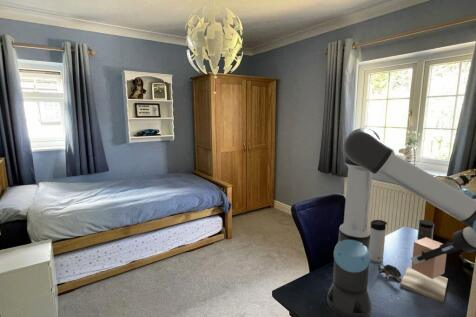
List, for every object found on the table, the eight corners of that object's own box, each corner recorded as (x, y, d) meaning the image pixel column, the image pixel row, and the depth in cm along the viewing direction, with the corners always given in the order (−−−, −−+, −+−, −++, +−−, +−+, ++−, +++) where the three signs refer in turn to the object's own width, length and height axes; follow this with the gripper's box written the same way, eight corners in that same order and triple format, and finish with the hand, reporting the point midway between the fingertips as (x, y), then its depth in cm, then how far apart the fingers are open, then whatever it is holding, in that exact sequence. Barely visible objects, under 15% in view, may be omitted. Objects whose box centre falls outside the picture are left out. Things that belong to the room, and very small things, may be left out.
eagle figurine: (376, 278, 111) (401, 282, 106) (376, 260, 114) (400, 263, 108) (379, 279, 116) (403, 282, 111) (379, 262, 119) (402, 265, 114)
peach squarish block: (444, 273, 105) (447, 245, 103) (432, 279, 102) (435, 250, 99) (423, 263, 112) (425, 237, 110) (411, 268, 109) (414, 241, 107)
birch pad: (443, 302, 98) (443, 299, 98) (400, 286, 107) (400, 283, 107) (447, 281, 109) (447, 278, 109) (408, 268, 119) (408, 265, 119)
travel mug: (382, 265, 122) (385, 225, 118) (366, 260, 126) (369, 221, 122) (384, 259, 127) (388, 220, 123) (369, 255, 130) (372, 217, 127)
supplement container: (430, 238, 145) (432, 221, 143) (433, 244, 139) (435, 225, 137) (416, 236, 148) (418, 219, 146) (418, 241, 142) (420, 223, 140)
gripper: (463, 257, 86) (409, 274, 103) (495, 241, 94) (440, 260, 112) (447, 235, 90) (397, 255, 107) (478, 222, 98) (428, 243, 115)
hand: (419, 258), depth 109 cm, fingers closed on peach squarish block, 8 cm apart
